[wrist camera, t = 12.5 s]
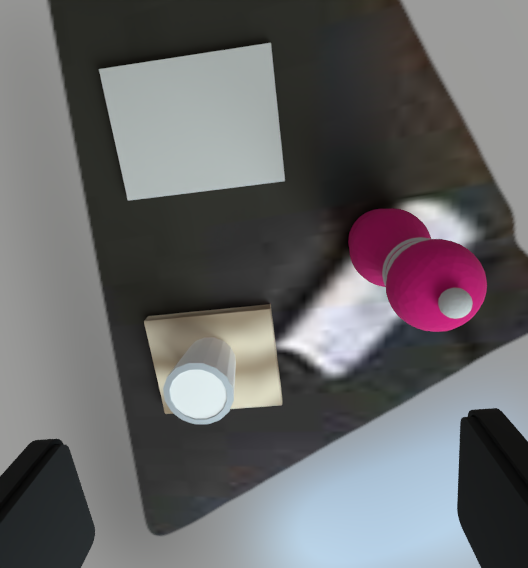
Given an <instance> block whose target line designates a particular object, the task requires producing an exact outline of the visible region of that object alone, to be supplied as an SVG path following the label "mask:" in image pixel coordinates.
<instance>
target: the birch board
mask: <svg viewBox="0 0 528 568" xmlns="http://www.w3.org/2000/svg"><path fill="white" fill-rule="evenodd" d="M144 324H145V328H146V333H147V337H148V341H149V346H150V350H151V354H152V359H153V363H154V367H155V372H156V376H157V380H158V385H159V389H160V393H161V398H162V402H163V406H164V411H165V414H171V413H173V412H171V410H170V408H169V407H168V405H167V403H166V402H165V399H164V391H163V388H164V385H165V382H166V379H167V376H168V375H169V374H170V372H171V371H172V370H173V369H174V367H175V366H176V365H177V363H178V362H179V361H180V359H181V358H182V357H183V355H184V354H185V353H186V351H187V350H188V349H189V347H190V346H191V345H192V344H193V343H194V342H195V341H197V340H199V339H202V338H204V337H215V338H217V339H220V340H223V341H224V342H226V343H227V344H228V345H229V346H230V347H231V348H232V350H233V352H234V354H235V360H236V369H235V386H234V401H233V403H232V406H231V408H230V409H237V408H250V407H263V406H276V405H282V392H281V384H280V376H279V368H278V360H277V352H276V344H275V336H274V328H273V320H272V312H271V304H267V305H257V306H247V307H237V308H227V309H216V310H206V311H196V312H186V313H176V314H165V315H155V316H148V317H147V318H146V320H145V321H144Z"/></svg>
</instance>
